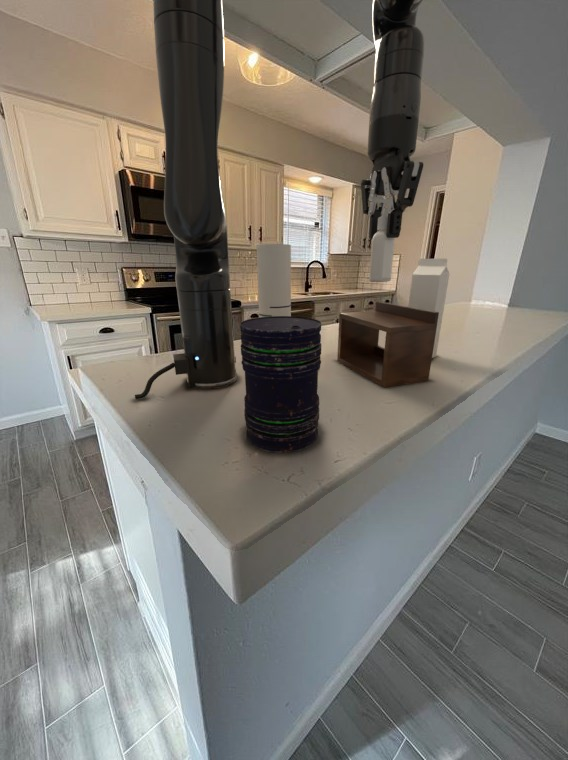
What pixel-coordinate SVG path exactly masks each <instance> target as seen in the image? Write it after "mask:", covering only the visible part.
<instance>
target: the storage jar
mask: <svg viewBox="0 0 568 760" xmlns="http://www.w3.org/2000/svg"><path fill="white" fill-rule="evenodd" d="M239 325H240V326H239V327H240V329H239V330H240V332H241V335H240V342H241V344H240V355H241V365H242V370H243V371H244V383H245V395H244V400H243V401H244V402H243V403H244V408H243V409H244V413H243V414H244V415H243V416H244V422H245V428H246V431H245V432H246V439H247V441H248V442H249V443H250V445H251V446H253V447H255V448H256V449H259V450H261V451H264V452H269V453H275V454H288V453H294V452H295V453H296V452H299V451H302V450H304V449H307V448H309V447H310V446H312V445H314V443H316V441H317V439H318V438H319V437H318V436H319V429H318V427H319V420H320V396H319V393H318V384H319V382H318V380H319V371H320V369H321V365H322V360H321V356H322V343H321V342H322V335H321V331H322V322H321V320H319V319H315V318H311V317H305V316H293V315H291V316H272V317H260V318H259V317H253V318H248V319H245V320H243V321H241V322H240V323H239Z"/></svg>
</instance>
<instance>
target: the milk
mask: <svg viewBox="0 0 568 760" xmlns="http://www.w3.org/2000/svg"><path fill="white" fill-rule="evenodd" d="M449 278H450V272H449V269H448V258H419V260H418V265H417V267H416V269H415V270H414V271H413V273H412V274H411V283H410V288H409V289H410V290H409V297H408V306H407V307H412V308H417V309H423V310H428V311H434V312H439V316H438V322H437V329H436V335H435V342H434V348H433V355H432V359H433V358H435V357H437V353H438V347H439V341H440V334H441V328H442V322H443V315H444V309H445V303H446V299H447V290H448V285H449Z"/></svg>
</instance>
